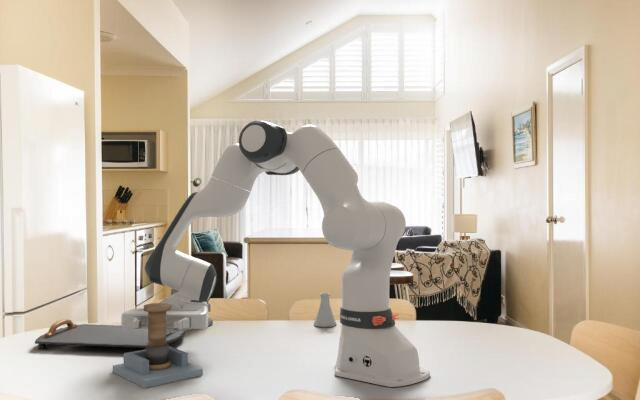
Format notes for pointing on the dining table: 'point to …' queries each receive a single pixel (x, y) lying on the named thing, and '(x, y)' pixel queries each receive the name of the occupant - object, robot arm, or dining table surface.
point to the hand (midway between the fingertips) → (156, 325)
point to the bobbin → (157, 336)
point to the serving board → (98, 335)
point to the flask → (325, 313)
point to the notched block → (140, 374)
